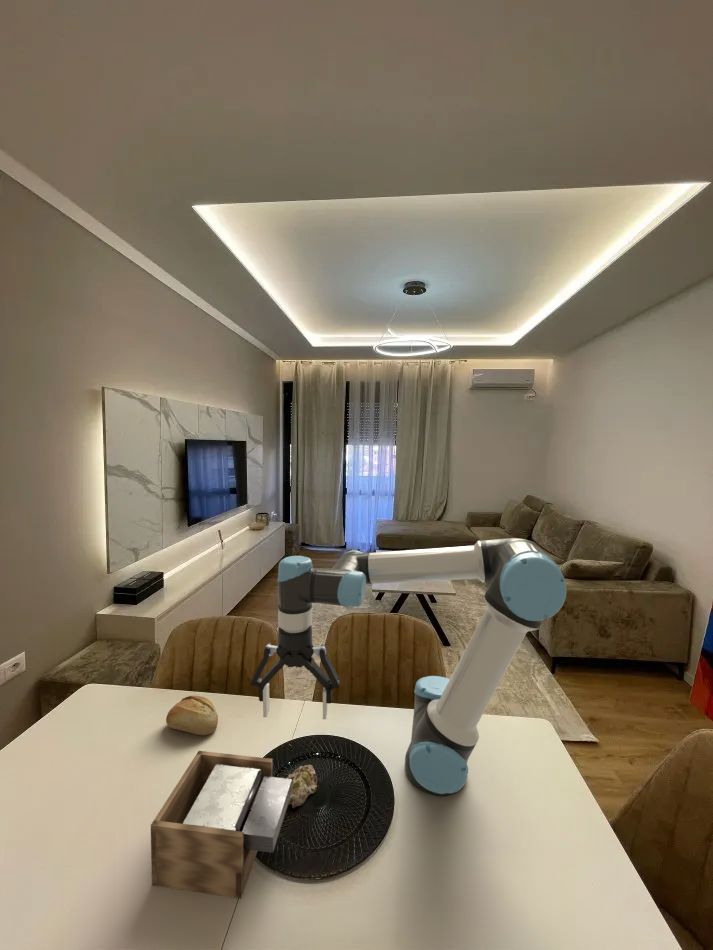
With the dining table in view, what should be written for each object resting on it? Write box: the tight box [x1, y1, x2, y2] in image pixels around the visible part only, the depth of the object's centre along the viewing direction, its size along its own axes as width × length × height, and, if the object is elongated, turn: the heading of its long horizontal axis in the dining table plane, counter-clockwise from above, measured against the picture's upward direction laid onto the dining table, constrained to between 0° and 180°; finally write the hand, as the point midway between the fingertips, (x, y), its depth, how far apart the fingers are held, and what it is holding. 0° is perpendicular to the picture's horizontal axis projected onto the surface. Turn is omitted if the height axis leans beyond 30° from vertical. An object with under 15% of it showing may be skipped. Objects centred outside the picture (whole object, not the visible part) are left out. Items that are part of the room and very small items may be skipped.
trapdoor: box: [183, 764, 292, 853], centre depth 83 cm, size 17×14×4 cm
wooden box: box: [150, 750, 274, 899], centre depth 84 cm, size 17×18×12 cm
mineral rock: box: [285, 764, 318, 809], centre depth 98 cm, size 11×4×8 cm
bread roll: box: [165, 695, 219, 736], centre depth 117 cm, size 10×15×8 cm, turn 80°
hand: (295, 714), depth 95 cm, fingers open, 13 cm apart
